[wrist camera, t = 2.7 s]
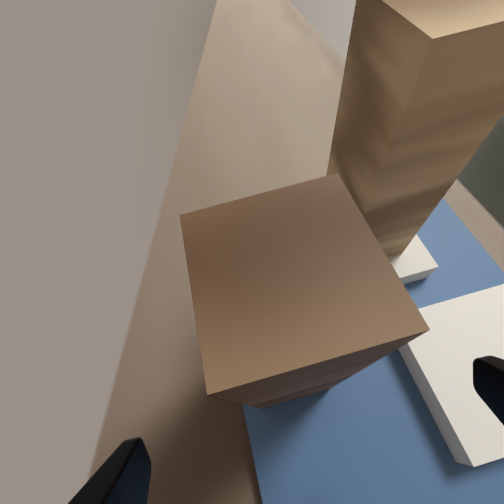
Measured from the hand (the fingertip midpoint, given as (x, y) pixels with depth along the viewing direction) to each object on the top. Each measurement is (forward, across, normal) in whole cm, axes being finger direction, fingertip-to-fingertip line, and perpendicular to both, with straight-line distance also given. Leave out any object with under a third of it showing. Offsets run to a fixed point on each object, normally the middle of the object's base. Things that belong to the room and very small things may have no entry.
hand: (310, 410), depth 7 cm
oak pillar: (+12, -7, -1) cm, 14 cm away
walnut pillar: (+8, 0, +5) cm, 9 cm away
